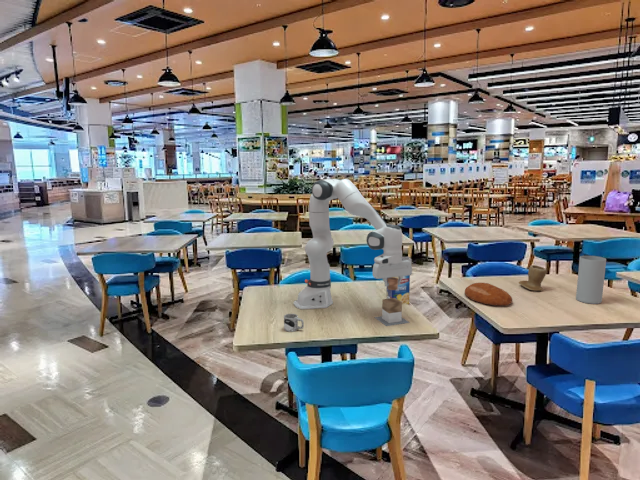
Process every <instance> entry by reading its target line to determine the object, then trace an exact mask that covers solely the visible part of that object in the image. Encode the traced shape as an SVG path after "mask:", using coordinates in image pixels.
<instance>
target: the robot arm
mask: <svg viewBox="0 0 640 480" xmlns="http://www.w3.org/2000/svg"><path fill="white" fill-rule="evenodd" d="M309 197H310V198H309V202H308V203H309V205H308V218H309V220H308V221H309V222H308V223H309V227H310V229H311V233H312V238H311V239H308V241H307V242H306V244H305V246H304V251H305V254H306V255H307V258H308V263H309V269H310V270H309V272H310V279H305V280H304V282H305V284H307V285H306V287H304V288H303V289H302V290H300V291H299V292H298V294H297V297H296V298H297V300H294V301H293V306H294V307H295V308H297V309H298V310H299V309H300V310H309V309H310V310H311V309H326V308H329V306H332V305H333V303H334V301H333V298H332V292H331V286H332V281H331V272H330V271H331V270H330V269H331V268H330V264H329V261H328V256H327V255H328V254H327V253H329V252H331V250H332V249H333V247H334V244H335V243H334V240H333V237H332V232H331V228H330V227H331V226H330V208H329V206H330V202H331V201H332V200H333V201H335V200H339V201H340V203H341V205H342V206H343V209H344V210H345V211H347V212H348V213H349V215H353V216H356V217H357V216H358V217H361V218H363V219H366V220H367V221H368V222H369V223H370V224H371V225H372V226H373V228H374V229H375V230H372V231H369V233H368V234H367V236H366V239H365V240H366V244H367V246H368V248H370V249H371V250H374V251H376V250H383V253H382V254H380V255H378V256H375V257H374V259H373V261H374V264H373V265H372V276H373V278H374V279H377V280H378V279H382V281H383V283H384V287H386V288H387V286H389V283H388V282H387V278H390V277H399V279H398V285H400V282H401V280H402V278H403V276H407V275H410V276H411V275H412V274H413V267H412V261H413V259H412V258H411V257H410V256H403V249H402V246H403V232H402V231H403V230H402V228H401V226H399V225H397V224H391V223H390V224H389V223H387V222H386V221H385V220H384V218H383V217H382V216H381V215H380V214H379V212H378V211H377V210H376V208H375V207H374V206H372V205H371V204H370V202H369V201H367V200H366V198H365V197H364V196H363V195H362V193H361V192H360V191H359V189H358V187H357V186H356V185H355V184H354V183H353V182H352V181H351V180H350V179H349V178H342V179H340V178H327V179H319V180H317V181H315V182H313V184H312V187H311V195H310V196H309Z"/></svg>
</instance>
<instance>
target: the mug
mask: <svg viewBox="0 0 640 480" xmlns="http://www.w3.org/2000/svg"><path fill="white" fill-rule="evenodd" d="M299 322H301V326H299ZM283 328H284V331H285V332H288V333H292V332H296V331H298V330H302V329H304V319H302V318H300V317H299V316H298V314H296V313H286V314H284V315H283Z"/></svg>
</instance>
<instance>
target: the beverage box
mask: <svg viewBox="0 0 640 480" xmlns="http://www.w3.org/2000/svg"><path fill="white" fill-rule="evenodd" d="M390 278H391V277H390ZM393 278H397V279H399V277H393ZM387 279H388V278H387ZM410 283H411V275H407V276H403V278H402V280H401V282H400V285H398V289H397V290H389V289H387V288H386V290H385V291H386V297H385V299H390V298H396V299H398V300H399V301H401V302H402V305H404V304H406V305H410V292H411V291H410V290H411V289H410V288H411V287H410V286H411V285H410Z"/></svg>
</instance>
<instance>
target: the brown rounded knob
mask: <svg viewBox="0 0 640 480" xmlns="http://www.w3.org/2000/svg"><path fill="white" fill-rule="evenodd" d="M386 281H387V282H388V283H389V286H387V287H386V290H387V289H389V290H397V289H398V279H397V278H393V277H391V278H388V279H387V280H386Z"/></svg>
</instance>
